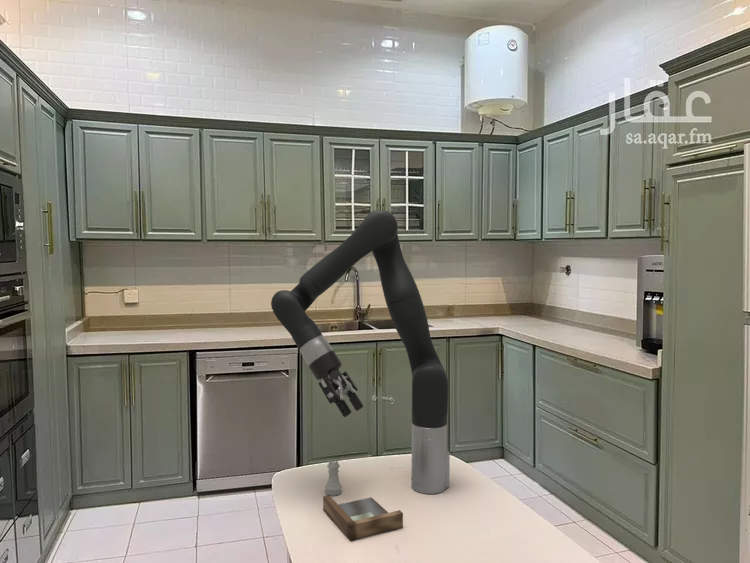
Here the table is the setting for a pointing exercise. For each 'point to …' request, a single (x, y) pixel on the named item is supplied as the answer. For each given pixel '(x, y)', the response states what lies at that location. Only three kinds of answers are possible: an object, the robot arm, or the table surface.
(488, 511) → the table surface
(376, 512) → the corner arena
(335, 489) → the rook chess piece
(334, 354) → the robot arm
